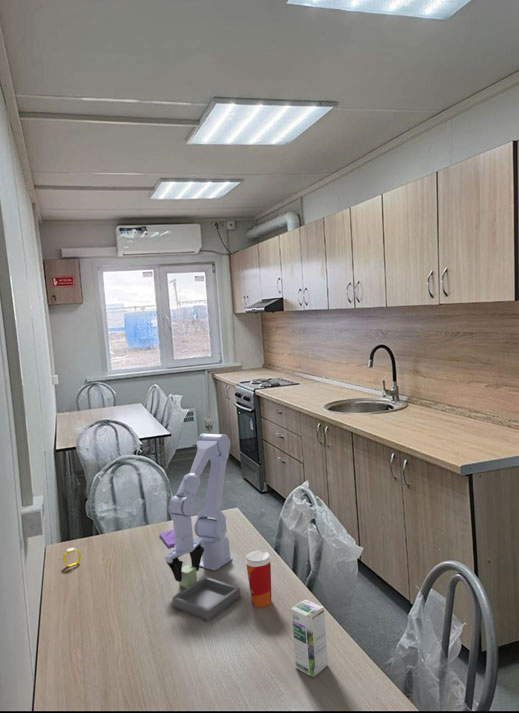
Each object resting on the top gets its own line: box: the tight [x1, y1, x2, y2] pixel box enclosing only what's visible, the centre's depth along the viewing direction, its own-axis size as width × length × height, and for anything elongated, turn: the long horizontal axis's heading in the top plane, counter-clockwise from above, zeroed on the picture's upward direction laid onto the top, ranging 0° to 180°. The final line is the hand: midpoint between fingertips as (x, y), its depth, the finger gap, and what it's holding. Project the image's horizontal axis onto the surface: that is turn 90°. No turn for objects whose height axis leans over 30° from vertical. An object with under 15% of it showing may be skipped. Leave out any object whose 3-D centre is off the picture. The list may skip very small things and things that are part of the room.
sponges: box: [159, 528, 175, 548], centre depth 200 cm, size 7×13×2 cm, turn 26°
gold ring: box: [62, 547, 82, 568], centre depth 185 cm, size 6×3×6 cm, turn 131°
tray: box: [172, 576, 242, 622], centre depth 153 cm, size 14×14×3 cm
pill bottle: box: [244, 550, 272, 609], centre depth 151 cm, size 8×8×14 cm
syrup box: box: [290, 599, 329, 678], centre depth 122 cm, size 6×6×14 cm
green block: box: [178, 564, 198, 589], centre depth 165 cm, size 4×4×5 cm
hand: (187, 575), depth 165 cm, fingers open, 7 cm apart
